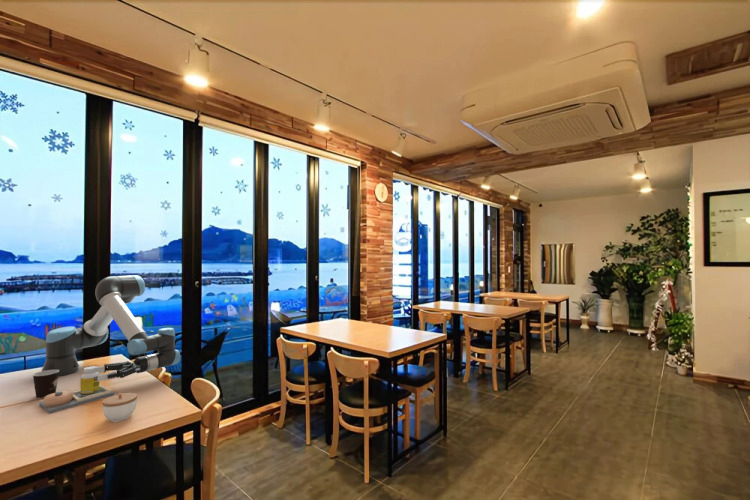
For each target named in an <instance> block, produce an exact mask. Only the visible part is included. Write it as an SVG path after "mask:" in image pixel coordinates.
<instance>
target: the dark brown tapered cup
mask: <svg viewBox="0 0 750 500" xmlns="http://www.w3.org/2000/svg"><path fill="white" fill-rule="evenodd" d="M32 377H33V384H34V392H35V393H34V394H35V398H37V399H44V397H45V396H47V395H49V394H52V393H56V392H57V387H58V383H59V382H58V380H59V377H60V376H59V370H47V371H42V370H40V371H38V372H35V373H33V375H32Z"/></svg>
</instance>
